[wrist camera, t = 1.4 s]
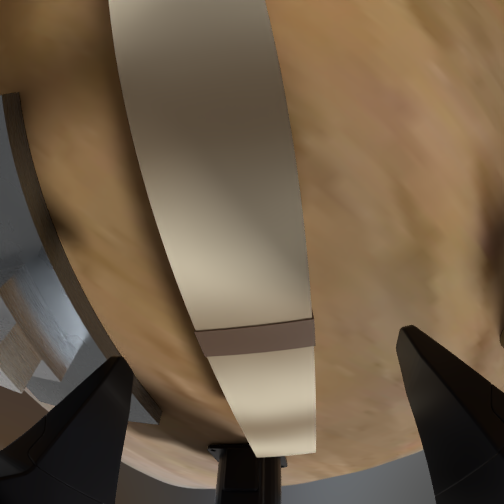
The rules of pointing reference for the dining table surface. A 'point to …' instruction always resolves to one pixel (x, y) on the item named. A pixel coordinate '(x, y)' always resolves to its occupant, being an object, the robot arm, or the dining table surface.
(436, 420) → the robot arm
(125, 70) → the beige long bar
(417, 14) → the dining table surface
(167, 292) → the dining table surface
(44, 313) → the fulcrum
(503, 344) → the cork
